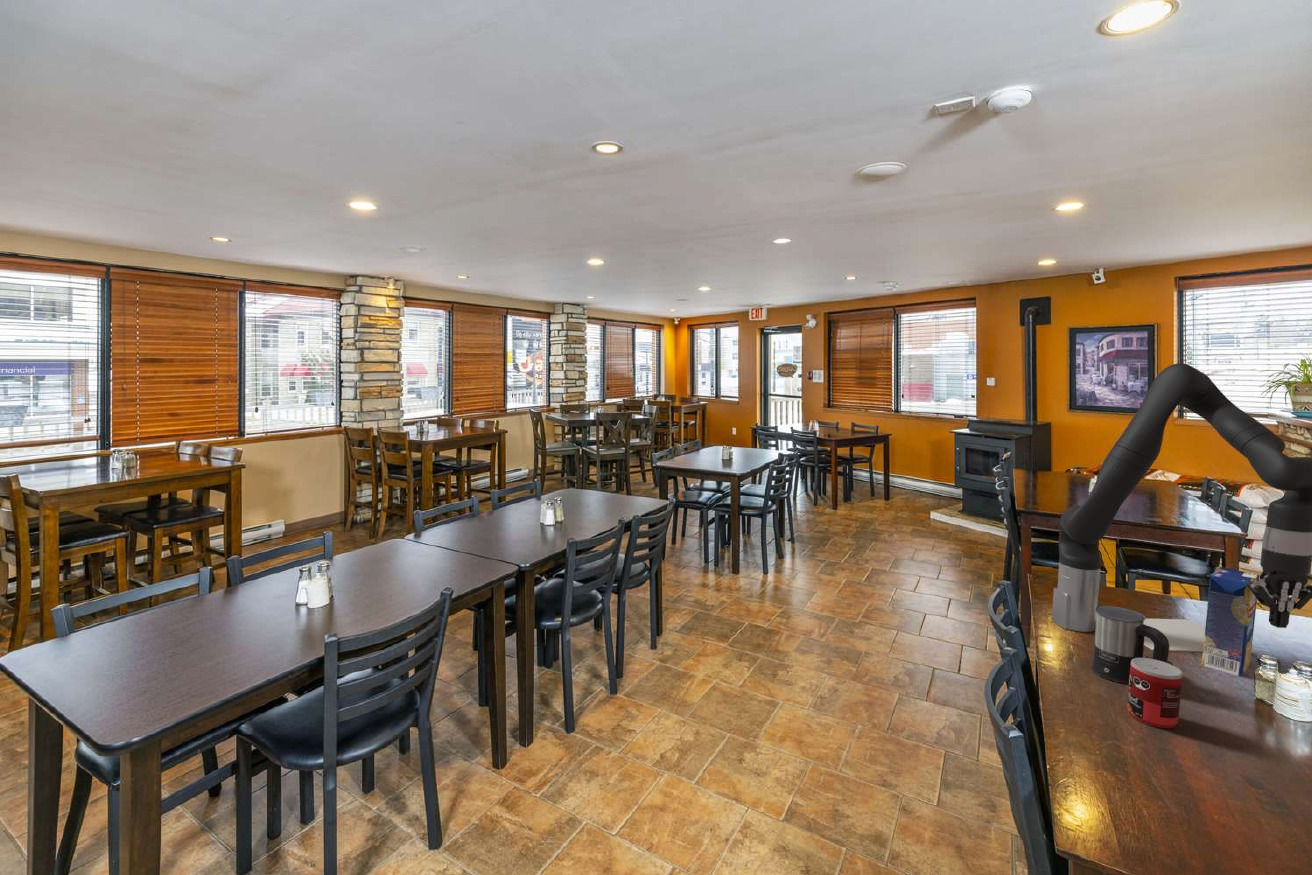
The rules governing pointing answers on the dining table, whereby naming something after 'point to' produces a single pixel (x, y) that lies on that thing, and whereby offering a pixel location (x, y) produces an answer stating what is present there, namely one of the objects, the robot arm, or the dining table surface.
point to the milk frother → (1123, 642)
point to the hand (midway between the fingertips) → (1278, 626)
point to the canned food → (1154, 692)
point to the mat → (1178, 634)
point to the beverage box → (1229, 621)
